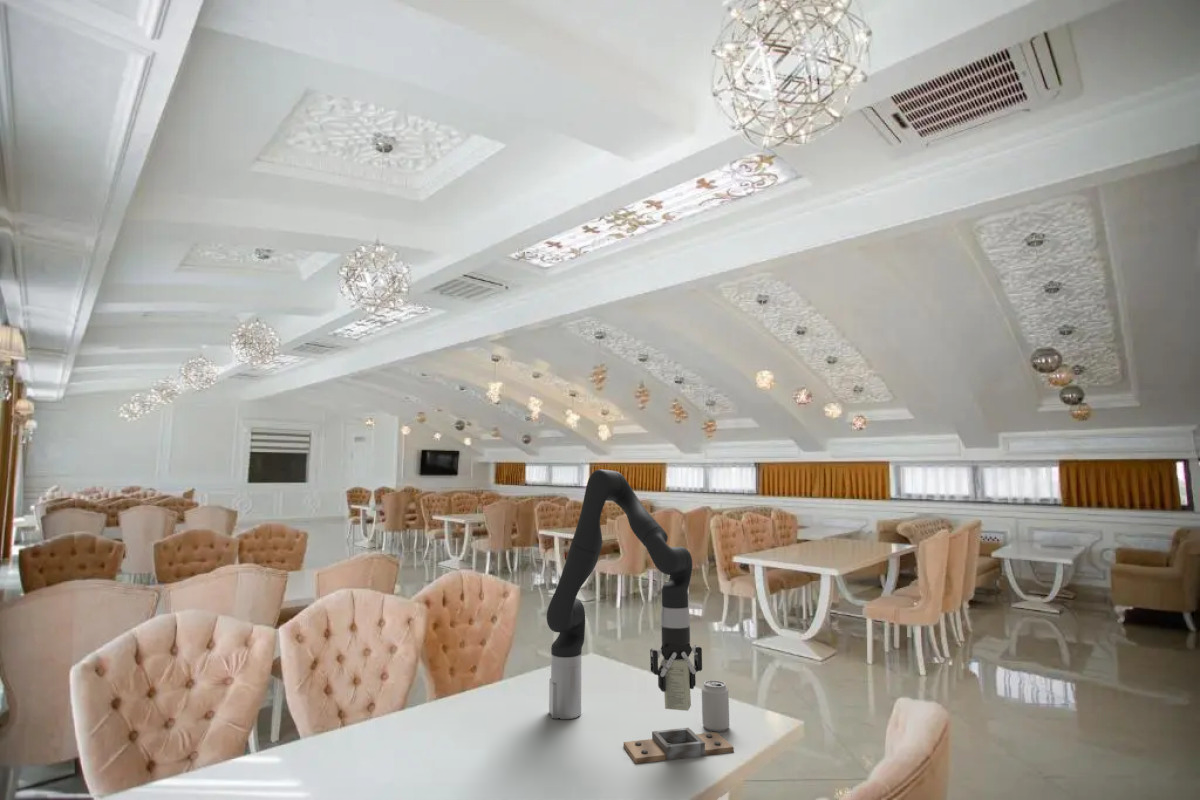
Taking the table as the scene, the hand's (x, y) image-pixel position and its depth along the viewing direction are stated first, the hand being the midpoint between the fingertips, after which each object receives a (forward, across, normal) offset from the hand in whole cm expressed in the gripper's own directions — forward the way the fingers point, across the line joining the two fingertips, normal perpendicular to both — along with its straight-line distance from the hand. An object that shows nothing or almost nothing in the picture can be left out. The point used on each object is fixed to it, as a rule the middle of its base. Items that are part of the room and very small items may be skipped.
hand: (676, 689), depth 156 cm
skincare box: (+5, 0, 0) cm, 5 cm away
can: (+15, -16, -11) cm, 24 cm away
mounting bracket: (+15, 0, 0) cm, 15 cm away
